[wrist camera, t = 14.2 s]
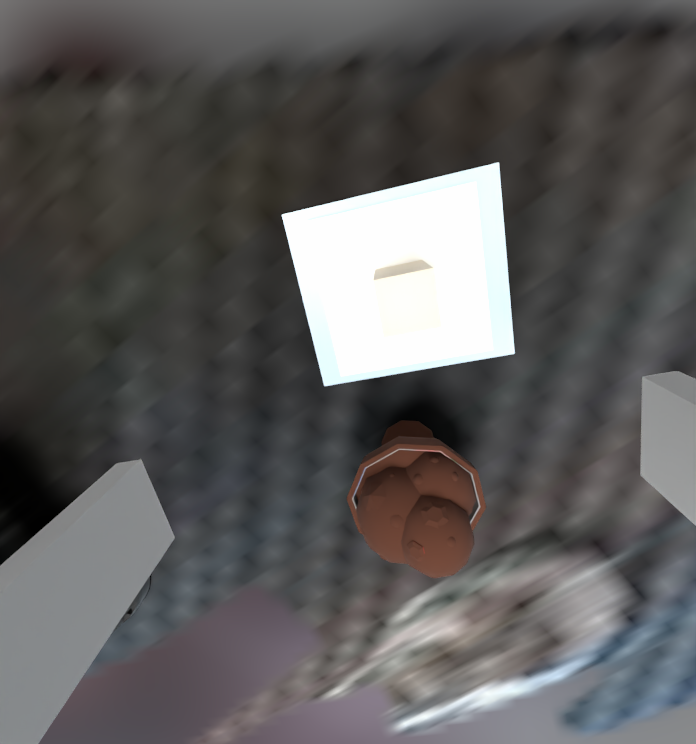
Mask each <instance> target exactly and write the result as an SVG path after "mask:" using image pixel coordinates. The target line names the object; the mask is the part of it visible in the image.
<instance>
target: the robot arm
mask: <svg viewBox="0 0 696 744" xmlns="http://www.w3.org/2000/svg"><path fill="white" fill-rule="evenodd" d="M641 476H642V477H643V478H644V479H645V480H646V481H647V482H648V483H650V484H651V485H652V486H653V487H654V488H655V489H656V490H657V491H658V492H659V493H661V494H662V495H663V496H664V497H665V498H666V499H667V500H668V501H669V502H670V503H672V504H673V505H674V506H675V507H676V508H677V509H678V510H679V511H680V512H681V513H683V514H684V515H685V516H686V517H687V518H688V519H689V520H690V521H691V522H692V523H694V524H695V525H696V379H694V378H692V377H690V376H687V375H685V374H683V373H681V372H679V371H674V372H668V373H662V374H656V375H650V376H644V377H642V421H641ZM174 539H175V537H174V534H173V532H172V530H171V527H170V525H169V523H168V520H167V518H166V516H165V513H164V511H163V509H162V506H161V504H160V502H159V500H158V497H157V495H156V493H155V490H154V488H153V486H152V483H151V481H150V479H149V476H148V474H147V472H146V469H145V467H144V465H143V462H142V460H141V459H140V460H134V461H128V462H122V463H117V464H115V465H114V466H113V467H112V468H111V469H110V470H109V471H107V472H106V473H105V474H104V475H103V476H102V477H101V478H99V479H98V480H97V481H96V482H95V483H94V484H93V485H92V486H90V487H89V488H88V489H87V490H86V491H85V492H84V493H82V494H81V495H80V496H79V497H78V498H77V499H76V500H74V501H73V502H72V503H71V504H70V505H69V506H68V507H66V508H65V509H64V510H63V511H62V512H61V513H60V514H59V515H57V516H56V517H55V518H54V519H53V520H52V521H51V522H49V523H48V524H47V525H46V526H45V527H44V528H43V529H41V530H40V531H39V532H38V533H37V534H36V535H35V536H33V537H32V538H31V539H30V540H29V541H28V542H27V543H26V544H24V545H23V546H22V547H21V548H20V549H19V550H18V551H16V552H15V553H14V554H13V555H12V556H11V557H10V558H8V559H7V560H6V561H5V562H4V563H3V564H2V565H1V566H0V744H38V743H39V742H40V740H41V738H42V737H43V735H44V734H45V732H46V731H47V729H48V728H49V726H50V725H51V723H52V722H53V720H54V719H55V717H56V716H57V714H58V713H59V711H60V710H61V708H62V707H63V705H64V704H65V702H66V701H67V699H68V698H69V696H70V695H71V693H72V692H73V690H74V689H75V687H76V686H77V684H78V683H79V681H80V680H81V678H82V677H83V675H84V674H85V672H86V671H87V669H88V668H89V666H90V665H91V663H92V662H93V660H94V659H95V657H96V656H97V654H98V653H99V651H100V650H101V648H102V647H103V645H104V644H105V642H106V641H107V639H108V638H109V636H110V635H111V633H112V632H113V631H115V630H116V629H117V628H118V627H119V626H120V625H121V624H122V623H123V622H125V621H126V620H127V619H128V618H130V617H131V616H132V615H133V614H134V612H135V611H136V610H137V608H138V607H139V605H140V604H141V602H142V601H143V599H144V598H145V596H146V594H147V592H148V590H149V586H150V575H151V573H152V572H153V570H154V569H155V567H156V566H157V564H158V563H159V561H160V560H161V558H162V557H163V555H164V554H165V552H166V551H167V549H168V548H169V546H170V545H171V543H172V542H173V540H174Z"/></svg>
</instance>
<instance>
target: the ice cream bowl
mask: <svg viewBox="0 0 696 744" xmlns="http://www.w3.org/2000/svg"><path fill="white" fill-rule="evenodd" d="M381 443H382V446H381V447H379V448H377V449H376V450H374V451H372V452H370V453H369V454H367V455H366V456H365V457H364V458H363V460H362V462H361V465H360V467H359V469H358V472H357V474H356V477H355V479H354V482H353V484H352V487H351V489H350V491H349V494H348V496H347V501H348V504H349V507H350V509H351V512H352V515H353V517H354V520H355V523H356V526H357V528H358V531H359V532H360V533H361V534H363V535H364V538H365V541H366V543H367V544H368V545H369V547H370V548H371V549H372V550H373V551H375V552H376V553H378V554H379V556H380V557H381V558H382V559H384V560H387V561H389V562H393V563H404V564H409V566H411V567H413V568H415V569H416V570H418V571H420V572H422V573H423V574H425V575H427V576H429V577H432V578H438V577H444V576H450V575H454V574H455V573H456V572H458V571H459V570H460V569H461V568H462V567H463V566H465V565H466V563H467V562H468V559H469V557H470V554H471V551H472V548H473V546H474V536H473V532H472V531H473V529H474V528H475V526H476V524H477V522H478V521H479V519H480V517H481V515H482V514H483V512H484V510H485V508H486V505H485V501H484V496H483V492H482V488H481V484H480V480H479V476H478V472H477V470H476V469H475V468H474V466H473V465H472V464H471V463H470V462H469V461H467V460H466V459H465V458H463V457H462V456H461V455H459V454H458V453H456V452H455V451H454V450H452V449H451V448H450V447H448V446H447V445H446V444H444V443H443V442H441V441H440V440H438V439H436V438H434V437H433V433H432V431H431V430H430V429H429V428H427V427H426V426H424V425H423V424H422V423H420V422H419V421H403V420H401V421H400V422H398V423H396V424H394V425H393V426H391V427H389V428H387V430H386V433H385V435H384V437H383V440H382V442H381Z"/></svg>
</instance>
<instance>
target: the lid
mask: <svg viewBox="0 0 696 744" xmlns="http://www.w3.org/2000/svg"><path fill="white" fill-rule="evenodd" d="M305 224H306V228H307V233H308V237H309V241H310V246H311V250H312V254H313V259H314V263H315V267H316V272H317V276H318V280H319V284H320V289H321V293H322V297H323V302H324V306H325V310H326V315H327V319H328V323H329V328H330V332H331V336H332V340H333V345H334V349H335V353H336V358H337V362H338V366H339V371H340V375H341V376H347V375H353V374H359V373H364V372H370V371H376V370H382V369H387V368H393V367H399V366H405V365H410V364H416V363H422V362H428V361H433V360H439V359H445V358H451V357H456V356H462V355H468V354H474V353H479V352H485V351H491V350H493V344H492V334H491V324H490V314H489V304H488V294H487V284H486V274H485V264H484V254H483V244H482V234H481V224H480V214H479V204H478V194H477V184H476V182H471V183H467V184H463V185H459V186H454V187H450V188H446V189H442V190H438V191H433V192H429V193H425V194H421V195H416V196H412V197H408V198H404V199H399V200H395V201H391V202H387V203H382V204H378V205H374V206H370V207H365V208H361V209H357V210H353V211H348V212H344V213H340V214H336V215H331V216H327V217H323V218H319V219H315V220H310V221H306V222H305Z"/></svg>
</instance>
